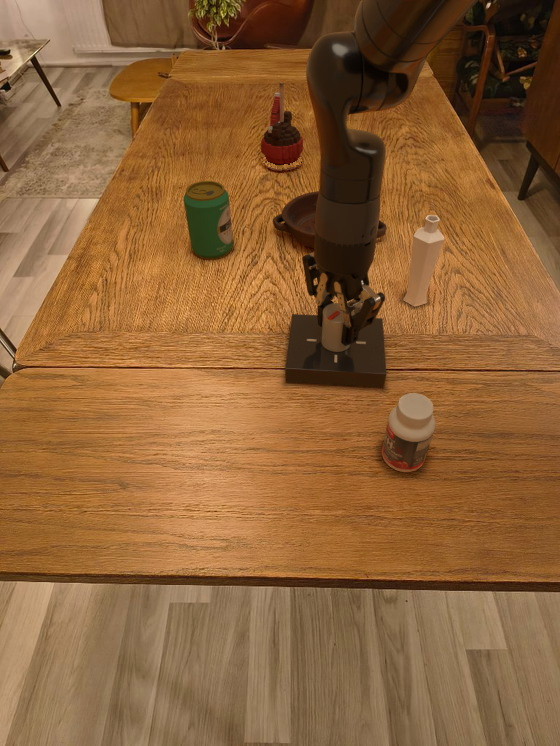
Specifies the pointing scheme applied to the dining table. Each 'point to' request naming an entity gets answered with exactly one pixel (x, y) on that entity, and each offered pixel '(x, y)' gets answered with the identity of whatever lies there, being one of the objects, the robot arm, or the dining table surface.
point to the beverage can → (208, 219)
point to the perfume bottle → (423, 260)
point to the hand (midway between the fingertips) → (336, 332)
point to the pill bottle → (409, 433)
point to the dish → (305, 219)
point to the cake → (281, 136)
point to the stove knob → (333, 328)
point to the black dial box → (335, 356)
